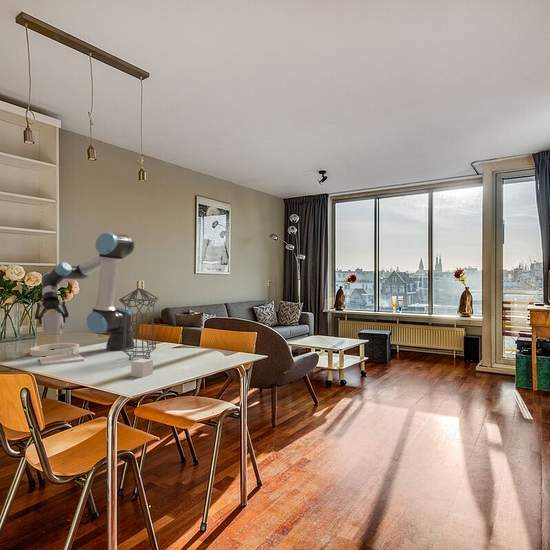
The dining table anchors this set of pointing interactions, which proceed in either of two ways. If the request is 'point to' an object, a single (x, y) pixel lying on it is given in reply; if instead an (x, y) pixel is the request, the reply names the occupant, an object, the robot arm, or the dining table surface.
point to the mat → (60, 359)
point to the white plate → (46, 350)
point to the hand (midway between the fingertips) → (52, 327)
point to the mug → (52, 324)
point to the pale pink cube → (141, 367)
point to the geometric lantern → (136, 321)
